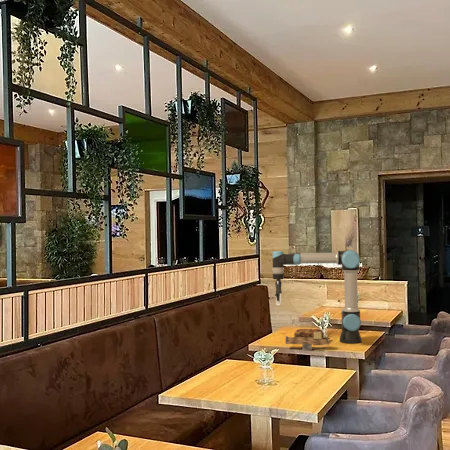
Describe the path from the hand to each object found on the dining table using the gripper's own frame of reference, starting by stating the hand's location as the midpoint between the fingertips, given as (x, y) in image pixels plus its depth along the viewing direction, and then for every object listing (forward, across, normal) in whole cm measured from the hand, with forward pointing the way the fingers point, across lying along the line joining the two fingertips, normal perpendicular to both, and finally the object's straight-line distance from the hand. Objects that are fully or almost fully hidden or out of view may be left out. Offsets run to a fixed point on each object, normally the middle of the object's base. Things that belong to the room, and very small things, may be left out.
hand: (278, 304), depth 382 cm
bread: (+28, -6, +20) cm, 35 cm away
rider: (+22, +14, +26) cm, 37 cm away
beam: (+28, +14, +19) cm, 37 cm away
